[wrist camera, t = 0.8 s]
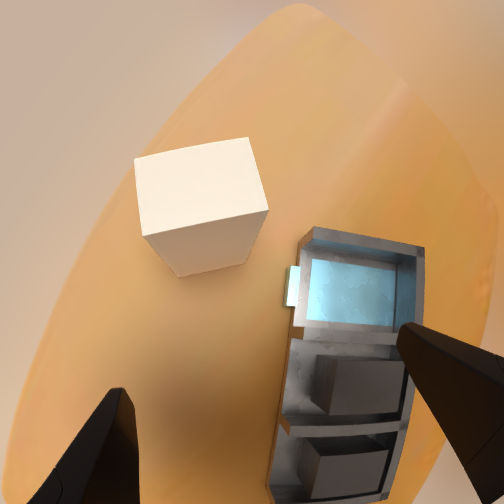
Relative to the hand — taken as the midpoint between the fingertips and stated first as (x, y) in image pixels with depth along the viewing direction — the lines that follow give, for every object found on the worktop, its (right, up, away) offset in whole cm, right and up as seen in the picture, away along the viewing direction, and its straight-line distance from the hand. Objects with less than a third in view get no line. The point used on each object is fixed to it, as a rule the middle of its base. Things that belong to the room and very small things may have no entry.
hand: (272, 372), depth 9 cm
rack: (+6, -6, +13) cm, 15 cm away
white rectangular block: (-4, +4, +14) cm, 15 cm away
